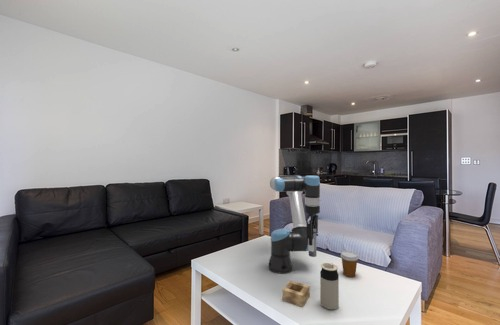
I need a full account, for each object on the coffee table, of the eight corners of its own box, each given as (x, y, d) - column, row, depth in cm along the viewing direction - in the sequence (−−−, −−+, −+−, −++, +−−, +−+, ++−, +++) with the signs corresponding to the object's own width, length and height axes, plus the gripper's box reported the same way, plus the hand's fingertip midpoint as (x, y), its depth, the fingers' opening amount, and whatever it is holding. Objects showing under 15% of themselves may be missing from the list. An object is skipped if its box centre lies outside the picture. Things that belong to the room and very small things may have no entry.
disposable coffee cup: (360, 279, 129) (360, 258, 129) (342, 277, 131) (342, 256, 131) (356, 271, 139) (355, 251, 139) (339, 270, 141) (339, 250, 140)
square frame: (282, 299, 111) (282, 289, 111) (290, 290, 119) (290, 280, 119) (302, 306, 105) (302, 296, 105) (309, 295, 114) (309, 285, 114)
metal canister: (307, 255, 121) (307, 229, 120) (309, 253, 124) (309, 227, 124) (315, 257, 118) (315, 230, 118) (317, 254, 122) (317, 228, 122)
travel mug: (323, 310, 103) (323, 270, 103) (318, 299, 111) (318, 262, 111) (341, 310, 103) (341, 270, 103) (334, 299, 111) (334, 262, 111)
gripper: (314, 208, 112) (314, 256, 112) (323, 203, 126) (323, 245, 126) (299, 207, 116) (299, 253, 116) (310, 201, 130) (310, 243, 130)
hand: (312, 249), depth 121 cm, fingers closed on metal canister, 4 cm apart
